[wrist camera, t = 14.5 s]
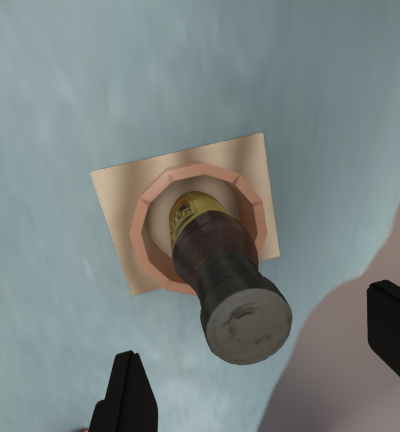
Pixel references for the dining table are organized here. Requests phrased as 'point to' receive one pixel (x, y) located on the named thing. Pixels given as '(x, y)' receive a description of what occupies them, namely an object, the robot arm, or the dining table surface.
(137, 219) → the jar collar
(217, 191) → the birch board
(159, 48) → the dining table surface
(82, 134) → the dining table surface
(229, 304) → the sauce bottle
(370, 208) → the dining table surface
